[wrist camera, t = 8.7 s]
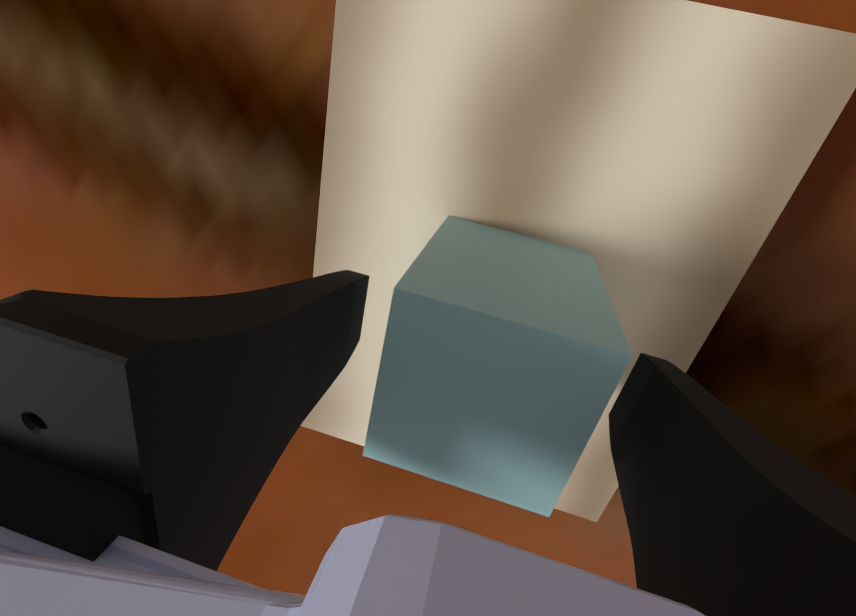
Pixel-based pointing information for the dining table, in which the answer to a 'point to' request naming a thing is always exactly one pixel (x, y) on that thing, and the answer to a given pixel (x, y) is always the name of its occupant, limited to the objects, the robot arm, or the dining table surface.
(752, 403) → the dining table surface
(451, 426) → the teal block
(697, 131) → the flat cream rectangular board
